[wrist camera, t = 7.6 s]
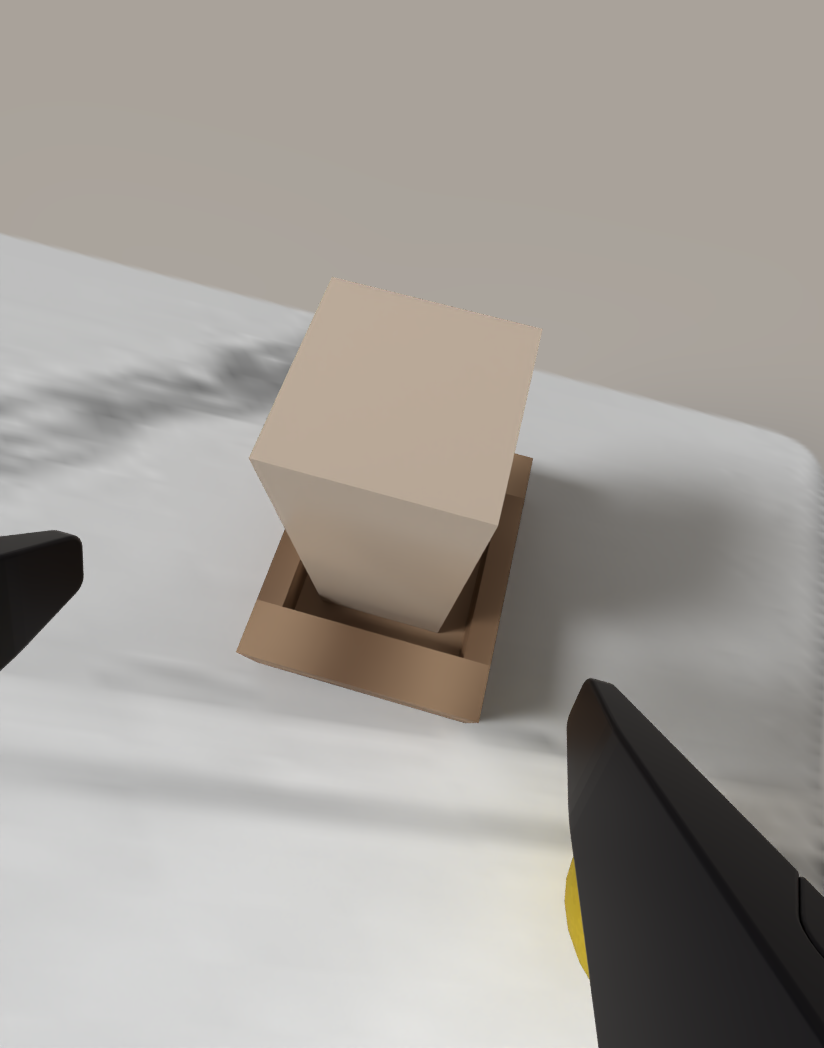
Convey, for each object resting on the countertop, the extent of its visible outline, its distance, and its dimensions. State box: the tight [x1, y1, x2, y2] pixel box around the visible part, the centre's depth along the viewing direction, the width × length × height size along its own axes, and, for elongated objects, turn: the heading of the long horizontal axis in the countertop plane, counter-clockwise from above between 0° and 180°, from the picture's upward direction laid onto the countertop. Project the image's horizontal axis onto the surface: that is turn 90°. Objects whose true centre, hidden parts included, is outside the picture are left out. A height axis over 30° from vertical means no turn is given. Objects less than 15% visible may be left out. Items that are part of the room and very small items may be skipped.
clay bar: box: [249, 277, 542, 633], centre depth 16 cm, size 5×5×12 cm
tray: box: [236, 453, 533, 723], centre depth 21 cm, size 9×11×3 cm
